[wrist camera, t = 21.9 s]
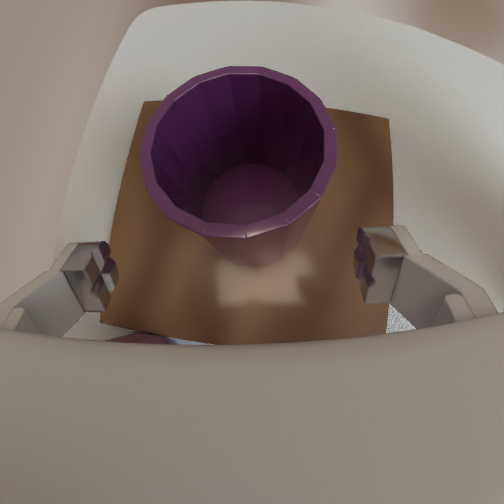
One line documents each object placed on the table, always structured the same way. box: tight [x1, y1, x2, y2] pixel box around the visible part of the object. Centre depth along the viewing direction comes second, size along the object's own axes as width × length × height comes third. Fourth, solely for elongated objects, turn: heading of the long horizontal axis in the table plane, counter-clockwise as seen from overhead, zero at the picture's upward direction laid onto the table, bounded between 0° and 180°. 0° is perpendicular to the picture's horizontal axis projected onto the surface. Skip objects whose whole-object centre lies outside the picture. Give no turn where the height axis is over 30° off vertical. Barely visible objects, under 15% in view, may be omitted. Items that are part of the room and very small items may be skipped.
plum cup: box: [139, 66, 337, 267], centre depth 16 cm, size 7×7×10 cm
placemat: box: [100, 101, 393, 345], centre depth 21 cm, size 20×18×1 cm
